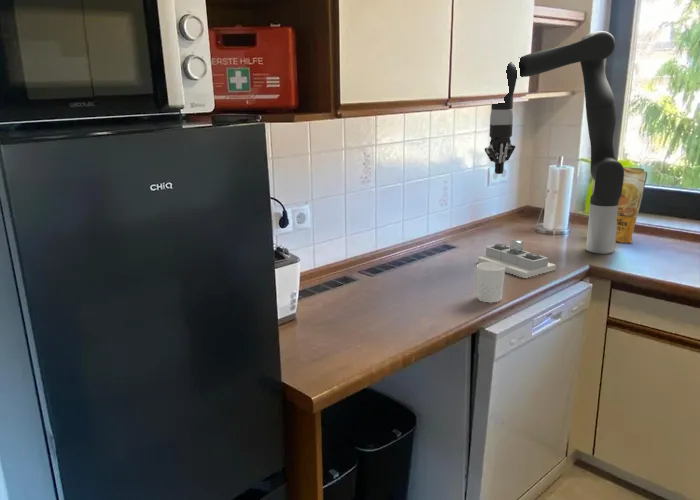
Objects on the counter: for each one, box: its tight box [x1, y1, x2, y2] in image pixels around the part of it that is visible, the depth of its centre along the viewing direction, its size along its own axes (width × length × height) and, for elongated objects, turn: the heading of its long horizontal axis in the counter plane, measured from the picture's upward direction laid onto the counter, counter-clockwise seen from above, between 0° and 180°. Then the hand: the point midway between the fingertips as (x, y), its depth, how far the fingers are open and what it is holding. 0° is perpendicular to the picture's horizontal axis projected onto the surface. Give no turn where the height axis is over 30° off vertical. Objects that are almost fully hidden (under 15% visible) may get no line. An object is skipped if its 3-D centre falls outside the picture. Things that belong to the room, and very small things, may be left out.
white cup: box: [476, 262, 506, 303], centre depth 164 cm, size 8×8×10 cm
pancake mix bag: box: [591, 166, 648, 244], centre depth 219 cm, size 7×19×28 cm, turn 44°
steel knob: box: [509, 238, 524, 253], centre depth 191 cm, size 4×4×4 cm
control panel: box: [477, 244, 556, 279], centre depth 192 cm, size 14×21×5 cm, turn 32°
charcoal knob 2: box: [526, 252, 540, 260], centre depth 186 cm, size 4×4×4 cm
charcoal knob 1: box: [494, 243, 508, 251], centre depth 198 cm, size 4×4×4 cm
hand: (498, 173), depth 200 cm, fingers closed
